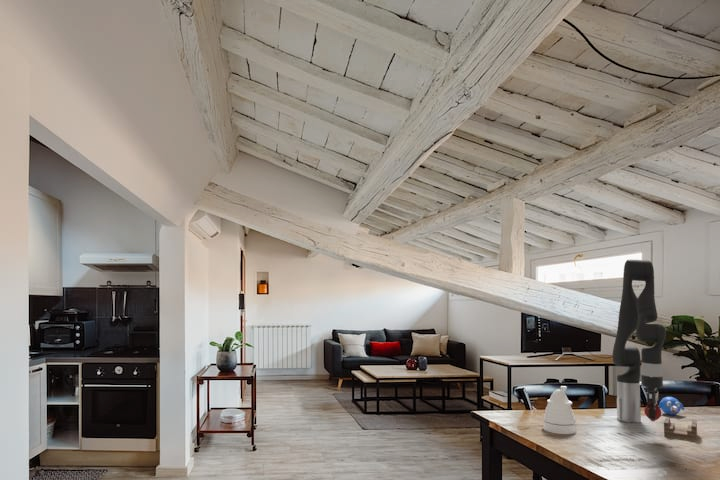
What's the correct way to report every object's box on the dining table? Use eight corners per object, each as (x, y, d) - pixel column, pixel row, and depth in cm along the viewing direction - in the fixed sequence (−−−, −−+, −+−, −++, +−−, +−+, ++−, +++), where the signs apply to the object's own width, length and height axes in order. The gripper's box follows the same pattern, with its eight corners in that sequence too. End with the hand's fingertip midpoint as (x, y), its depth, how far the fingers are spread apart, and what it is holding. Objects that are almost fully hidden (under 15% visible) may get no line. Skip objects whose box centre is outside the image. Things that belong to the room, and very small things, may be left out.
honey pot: (576, 428, 225) (576, 385, 226) (575, 435, 213) (574, 389, 215) (545, 424, 230) (544, 382, 232) (541, 431, 218) (541, 387, 220)
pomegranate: (659, 420, 212) (659, 400, 212) (662, 423, 206) (662, 403, 207) (643, 418, 214) (643, 398, 214) (646, 422, 208) (645, 401, 209)
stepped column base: (696, 441, 208) (695, 426, 208) (664, 436, 214) (663, 422, 214) (697, 434, 218) (696, 421, 218) (666, 430, 224) (665, 417, 224)
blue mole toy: (663, 417, 248) (662, 399, 249) (654, 412, 260) (653, 394, 261) (691, 419, 246) (690, 400, 247) (680, 413, 258) (679, 395, 259)
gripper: (643, 370, 219) (644, 412, 218) (639, 375, 207) (640, 419, 206) (664, 372, 215) (665, 415, 214) (661, 377, 203) (662, 422, 202)
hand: (652, 417), depth 210 cm, fingers closed on pomegranate, 6 cm apart
